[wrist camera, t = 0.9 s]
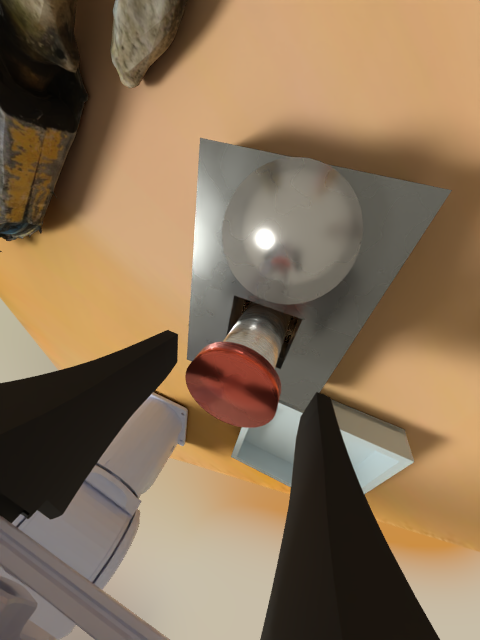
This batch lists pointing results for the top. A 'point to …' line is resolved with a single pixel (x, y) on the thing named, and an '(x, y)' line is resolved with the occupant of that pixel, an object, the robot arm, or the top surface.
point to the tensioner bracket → (298, 252)
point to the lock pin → (242, 369)
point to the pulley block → (59, 91)
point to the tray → (358, 434)
